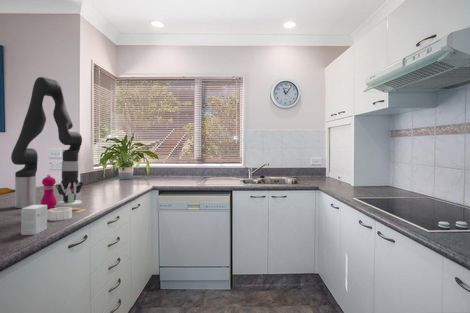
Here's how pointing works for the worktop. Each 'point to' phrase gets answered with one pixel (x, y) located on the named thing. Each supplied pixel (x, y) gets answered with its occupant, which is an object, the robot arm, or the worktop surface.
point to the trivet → (77, 210)
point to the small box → (33, 219)
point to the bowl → (59, 213)
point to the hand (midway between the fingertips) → (69, 201)
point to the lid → (69, 201)
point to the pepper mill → (48, 192)
